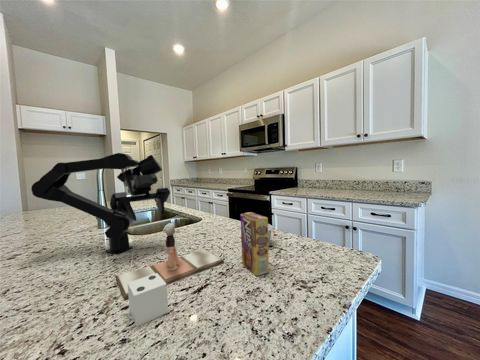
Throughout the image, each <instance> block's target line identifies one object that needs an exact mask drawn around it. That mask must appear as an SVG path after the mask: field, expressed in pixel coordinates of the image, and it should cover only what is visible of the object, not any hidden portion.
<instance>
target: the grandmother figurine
mask: <svg viewBox="0 0 480 360" xmlns="http://www.w3.org/2000/svg"><path fill="white" fill-rule="evenodd" d="M162 232H163V233H165V234H166V238H165V239H166V240H165V247H166V254H167V256H168V257H167V258H168V259H167V261H168V265H167V268H168V271H174V270H177V269H178V266H176V265H177V264H178V263H179V259H178V257H179V255H178V250H177V248H176V245H175V243H176V241H175V237H174V235H175V234H176V228H175V224H174V223H173V222H169V223H166V225H164V228H163V229H162Z"/></svg>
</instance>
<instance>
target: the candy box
mask: <svg viewBox="0 0 480 360" xmlns="http://www.w3.org/2000/svg"><path fill="white" fill-rule="evenodd" d="M268 224H269V217H267V216H264V215H261V214H257V213H256V212H253V211H251V212H250V211H249V212H244V213H240V227H241V229H240V235H241V236H240V238H241V241H240V242H241V265H243V266H244V267H245V268H246V269H248V270H249V271H250V272H251V273H252V274H254V275H255V276H256V277H258V276H263V275H266V274H269V273H270V272H269V271H270V268H269V267H270V265H269V246H268Z"/></svg>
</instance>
